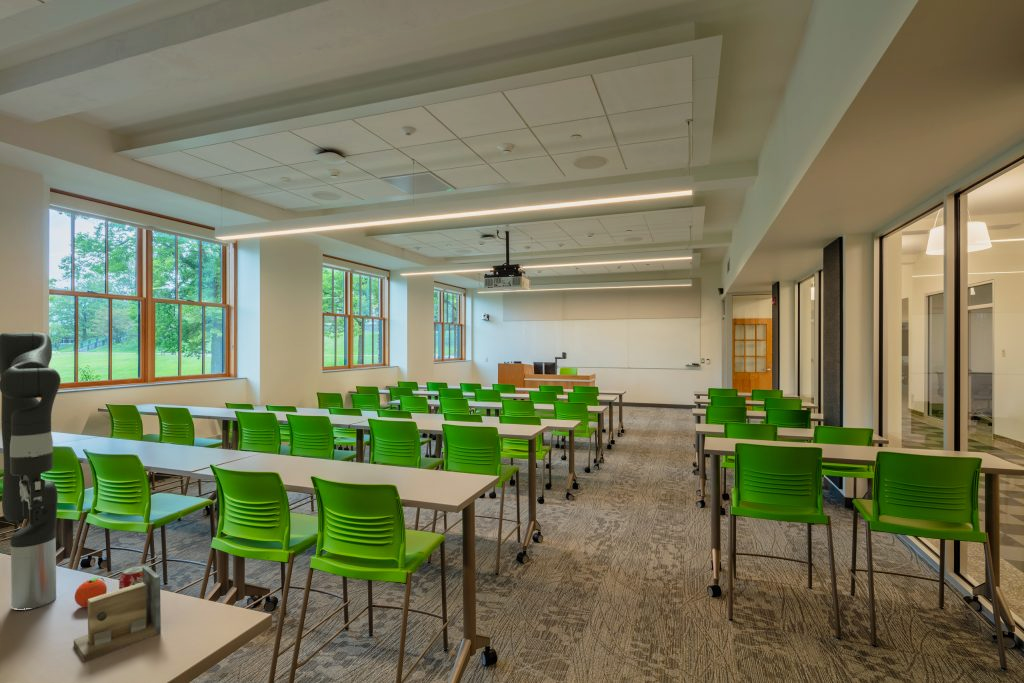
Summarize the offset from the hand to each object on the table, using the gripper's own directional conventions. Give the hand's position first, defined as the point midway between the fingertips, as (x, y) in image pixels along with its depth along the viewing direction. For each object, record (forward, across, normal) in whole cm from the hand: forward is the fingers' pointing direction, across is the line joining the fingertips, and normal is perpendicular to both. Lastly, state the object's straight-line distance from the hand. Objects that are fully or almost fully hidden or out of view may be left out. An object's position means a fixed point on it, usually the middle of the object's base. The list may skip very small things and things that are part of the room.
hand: (32, 520), depth 124 cm
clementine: (+30, -14, +14) cm, 36 cm away
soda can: (+30, +1, +20) cm, 36 cm away
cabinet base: (+30, +12, +14) cm, 35 cm away
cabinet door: (+29, +12, +14) cm, 34 cm away
